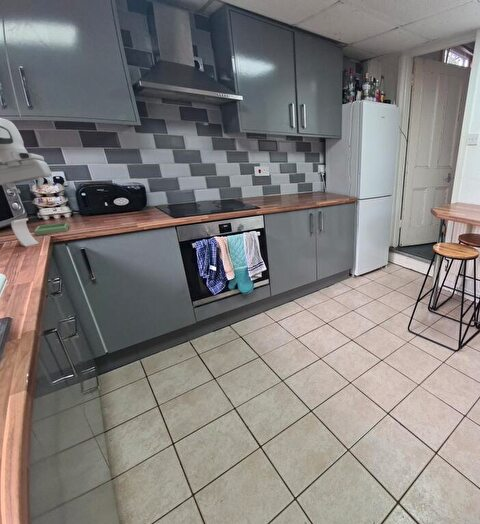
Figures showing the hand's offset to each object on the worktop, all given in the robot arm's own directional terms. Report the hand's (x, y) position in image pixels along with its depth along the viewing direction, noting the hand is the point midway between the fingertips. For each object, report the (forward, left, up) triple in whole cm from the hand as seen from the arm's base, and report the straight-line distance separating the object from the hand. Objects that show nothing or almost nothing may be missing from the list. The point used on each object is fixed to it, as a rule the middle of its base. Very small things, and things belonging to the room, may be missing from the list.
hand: (29, 191), depth 129 cm
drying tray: (-1, +21, -23) cm, 31 cm away
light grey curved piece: (-7, 0, -23) cm, 25 cm away
